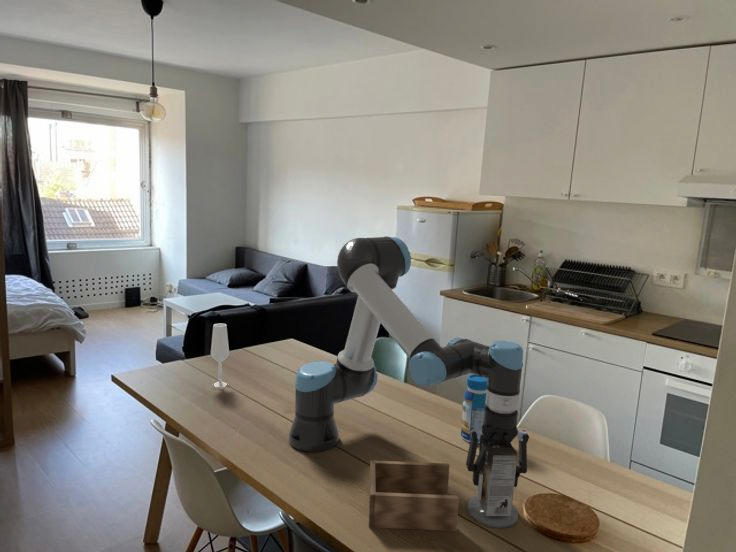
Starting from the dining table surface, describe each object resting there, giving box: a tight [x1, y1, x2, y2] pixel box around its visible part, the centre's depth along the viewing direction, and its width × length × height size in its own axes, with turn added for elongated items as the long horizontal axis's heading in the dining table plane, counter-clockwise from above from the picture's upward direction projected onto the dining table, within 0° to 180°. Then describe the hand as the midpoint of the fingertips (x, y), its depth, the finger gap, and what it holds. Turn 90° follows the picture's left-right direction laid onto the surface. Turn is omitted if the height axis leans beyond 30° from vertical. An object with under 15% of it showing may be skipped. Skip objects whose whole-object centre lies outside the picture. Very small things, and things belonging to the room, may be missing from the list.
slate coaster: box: [466, 496, 519, 529], centre depth 127 cm, size 12×12×1 cm
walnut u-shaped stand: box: [368, 459, 460, 532], centre depth 126 cm, size 20×15×8 cm
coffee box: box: [478, 435, 519, 516], centre depth 125 cm, size 9×6×16 cm
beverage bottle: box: [460, 374, 487, 444], centre depth 164 cm, size 8×8×20 cm
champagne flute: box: [210, 323, 230, 387], centre depth 197 cm, size 7×7×24 cm
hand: (493, 497), depth 126 cm, fingers closed on coffee box, 7 cm apart
